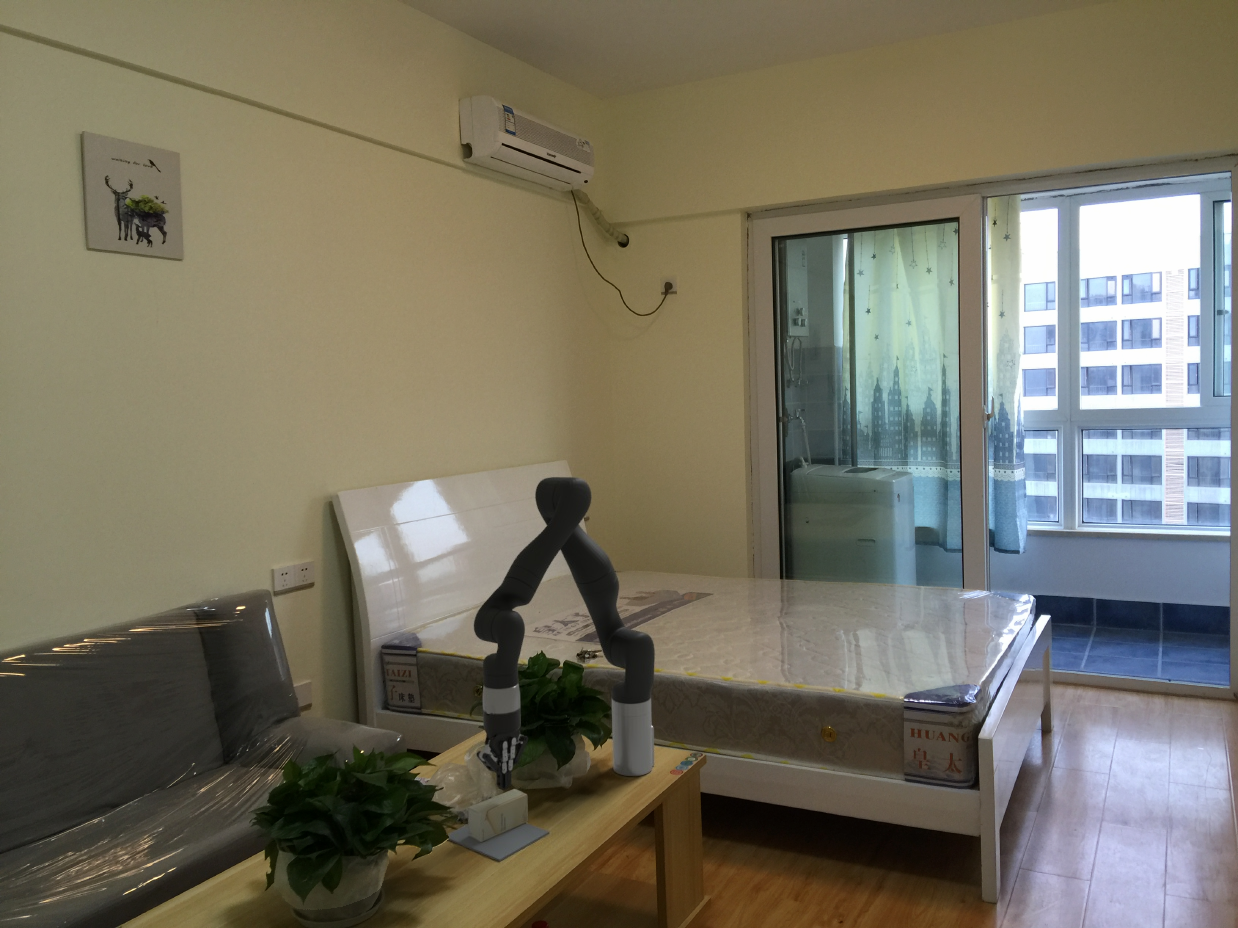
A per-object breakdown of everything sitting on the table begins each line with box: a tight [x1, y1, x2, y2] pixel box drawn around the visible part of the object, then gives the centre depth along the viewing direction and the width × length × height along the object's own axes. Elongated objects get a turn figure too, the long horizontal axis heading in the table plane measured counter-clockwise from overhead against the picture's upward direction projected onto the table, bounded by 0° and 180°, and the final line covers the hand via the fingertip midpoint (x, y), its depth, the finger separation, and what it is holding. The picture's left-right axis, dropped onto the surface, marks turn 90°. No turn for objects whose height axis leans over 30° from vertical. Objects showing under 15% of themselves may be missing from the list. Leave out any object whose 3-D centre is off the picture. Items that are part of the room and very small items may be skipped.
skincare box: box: [467, 788, 529, 842], centre depth 196 cm, size 6×4×12 cm
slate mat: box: [447, 822, 550, 862], centre depth 195 cm, size 14×16×1 cm
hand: (504, 788), depth 196 cm, fingers closed
